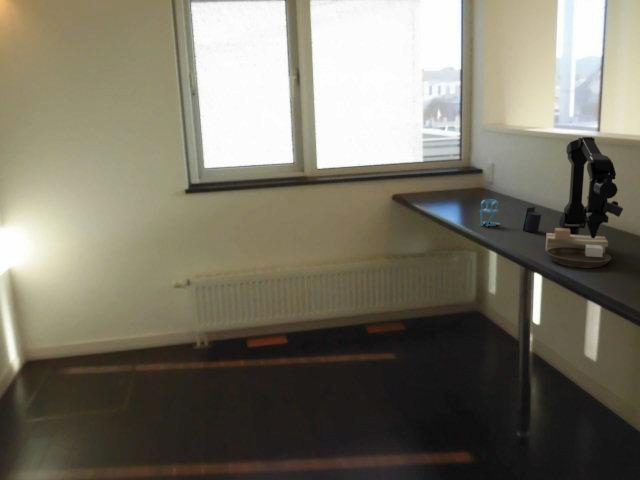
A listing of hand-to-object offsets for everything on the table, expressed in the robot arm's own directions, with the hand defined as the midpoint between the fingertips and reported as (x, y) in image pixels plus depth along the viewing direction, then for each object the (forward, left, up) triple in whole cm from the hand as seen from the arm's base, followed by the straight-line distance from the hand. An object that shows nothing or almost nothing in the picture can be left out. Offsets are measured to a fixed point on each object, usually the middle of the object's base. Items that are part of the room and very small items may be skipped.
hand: (593, 237), depth 212 cm
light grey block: (+9, 0, -1) cm, 9 cm away
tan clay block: (-3, -10, -1) cm, 11 cm away
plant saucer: (+8, -5, -8) cm, 12 cm away
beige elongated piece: (-5, -5, -7) cm, 10 cm away
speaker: (-43, -19, -7) cm, 48 cm away
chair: (-51, -38, -8) cm, 64 cm away
